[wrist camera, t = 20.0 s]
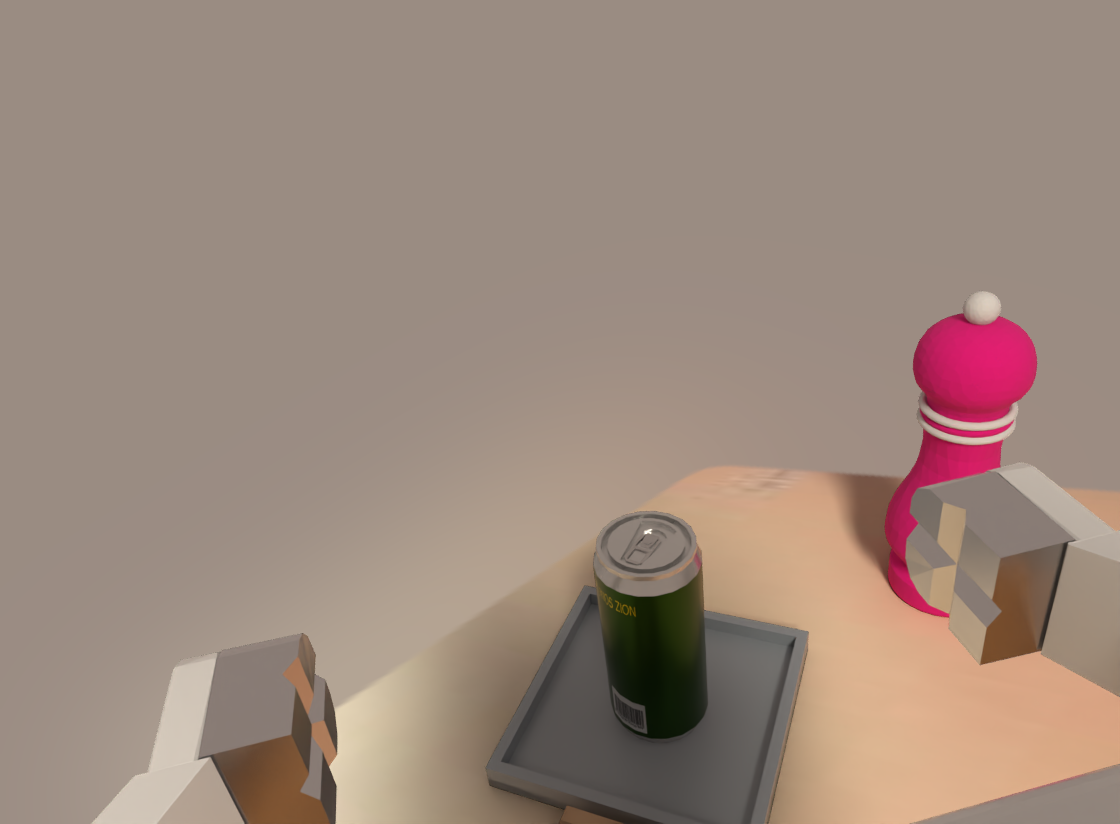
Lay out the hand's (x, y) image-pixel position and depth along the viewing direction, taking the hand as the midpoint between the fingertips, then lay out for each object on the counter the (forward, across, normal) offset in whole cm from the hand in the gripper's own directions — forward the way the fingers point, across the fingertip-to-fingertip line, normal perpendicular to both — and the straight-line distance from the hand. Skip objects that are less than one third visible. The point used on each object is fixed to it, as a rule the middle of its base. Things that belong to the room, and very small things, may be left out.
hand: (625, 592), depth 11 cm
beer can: (+23, -6, +32) cm, 40 cm away
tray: (+23, -6, +32) cm, 40 cm away
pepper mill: (+27, -26, +32) cm, 50 cm away
